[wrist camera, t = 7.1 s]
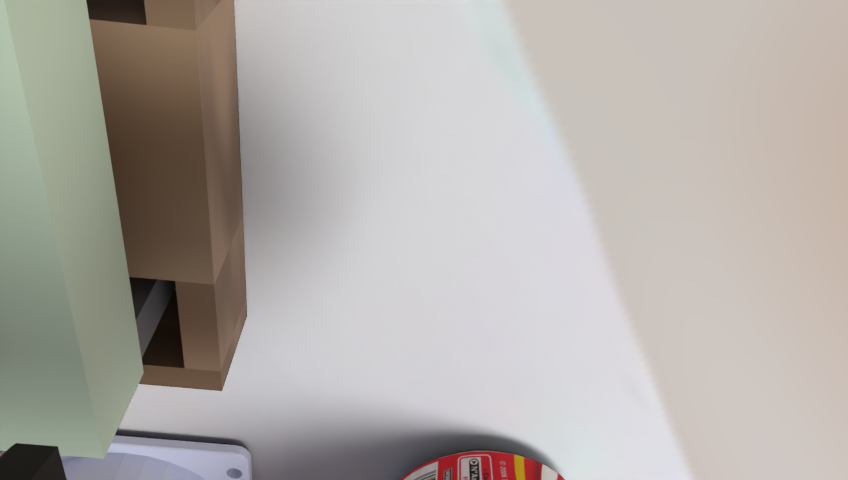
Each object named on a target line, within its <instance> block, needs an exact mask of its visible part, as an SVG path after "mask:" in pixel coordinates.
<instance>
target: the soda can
mask: <svg viewBox="0 0 848 480" xmlns="http://www.w3.org/2000/svg"><path fill="white" fill-rule="evenodd" d="M401 480H565V479H564V478H563V477H561V476H560V475H559V474H558V473H557V472H555V471H554V470H552V469H551V468H549V467H547V466H546V465H543V464H541V463H539V462H537V461H535V460H532V459H529V458H526V457H522V456H519V455H515V454H509V453H504V452H498V451H489V450H473V451H465V452H460V453H456V454H451V455H448V456H444V457H440V458H438V459H435V460H432V461H430V462H427V463H425V464H423V465H421V466H419V467H417V468H415V469H414V470H412V471H411V472H409V473H408V474H407V475H405V476H404V477H403V478H402V479H401Z"/></svg>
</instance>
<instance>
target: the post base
mask: <svg viewBox="0 0 848 480" xmlns="http://www.w3.org/2000/svg"><path fill="white" fill-rule="evenodd" d="M86 2H87V9H88V15H89V22H90V28H91V34H92V41H93V47H94V54H95V60H96V67H97V73H98V80H99V86H100V93H101V99H102V106H103V112H104V119H105V125H106V132H107V138H108V144H109V151H110V157H111V164H112V170H113V177H114V183H115V190H116V196H117V203H118V209H119V216H120V222H121V229H122V235H123V241H124V248H125V254H126V261H127V267H128V274H129V277H137V278H148V279H159V280H170V281H175V285H176V291H175V290H174V292H173V294H172V296H171V298H170V300H169V302H168V305H167V307H166V309H165V311H164V313H163V315H162V317H161V319H160V321H159V323H158V325H157V327H156V330H155V332H154V334H153V336H152V338H151V340H150V342H149V344H148V346H147V348H146V350H145V352H144V355H143V357H142V364H143V371H144V373H143V375H142V378H141V380H140V382H139V384H147V385H159V386H170V387H182V388H194V389H205V390H217V391H222V389H223V386H224V383H225V380H226V377H227V374H228V371H229V368H230V365H231V362H232V359H233V356H234V353H235V350H236V347H237V344H238V341H239V338H240V335H241V332H242V329H243V326H244V323H245V320H246V317H247V304H246V280H245V256H244V232H243V207H242V183H241V159H240V135H239V111H238V87H237V63H236V39H235V15H234V0H86Z"/></svg>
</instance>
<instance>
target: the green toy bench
mask: <svg viewBox="0 0 848 480" xmlns="http://www.w3.org/2000/svg"><path fill="white" fill-rule="evenodd" d="M175 288H176V285H175V281H170V280H159V279H148V278H137V277H129V274H128V267H127V261H126V254H125V248H124V241H123V235H122V229H121V222H120V216H119V209H118V203H117V196H116V190H115V183H114V177H113V170H112V164H111V157H110V151H109V144H108V138H107V132H106V125H105V119H104V112H103V106H102V99H101V93H100V86H99V80H98V73H97V67H96V60H95V54H94V47H93V41H92V34H91V28H90V22H89V15H88V9H87V2H86V0H0V450H1V451H7V450H8V449H9V448H10V447H11V446H13V445H14V444H15V443H22V444H34V445H46V446H58V449H59V453H60V455H63V456H75V457H88V458H100V459H104V457H105V455H106V453H107V451H108V448H109V446H110V444H111V442H112V440H113V438H114V436H115V433H116V431H117V429H118V427H119V425H120V423H121V421H122V418H123V416H124V414H125V412H126V410H127V408H128V405H129V403H130V401H131V399H132V397H133V395H134V393H135V390H136V388H137V386H138V384H139V382H140V380H141V378H142V375H143V373H144V371H143V364H142V357H143V355H144V352H145V350H146V348H147V346H148V344H149V342H150V340H151V338H152V336H153V334H154V332H155V330H156V327H157V325H158V323H159V321H160V319H161V317H162V315H163V313H164V311H165V309H166V307H167V305H168V302H169V300H170V298H171V296H172V294H173V292H174V290H175Z"/></svg>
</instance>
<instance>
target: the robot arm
mask: <svg viewBox="0 0 848 480" xmlns="http://www.w3.org/2000/svg"><path fill="white" fill-rule="evenodd" d="M0 480H252V467H251V455H250V452H249V451H248V450H247V449H245V448H243V447H241V446H237V445H227V444H215V443H202V442H190V441H178V440H166V439H154V438H141V437H129V436H117V435H115V436H114V438H113V440H112V442H111V444H110V446H109V448H108V451H107V453H106V455H105V457H104V459H100V458H88V457H75V456H63V455H60V453H59V449H58V446H46V445H34V444H22V443H15V444H14V445H13V446H11V447H10V448H9V449H8V450H7V451H6V452H5V453H4V454H3V455H2V456H1V457H0Z"/></svg>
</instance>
